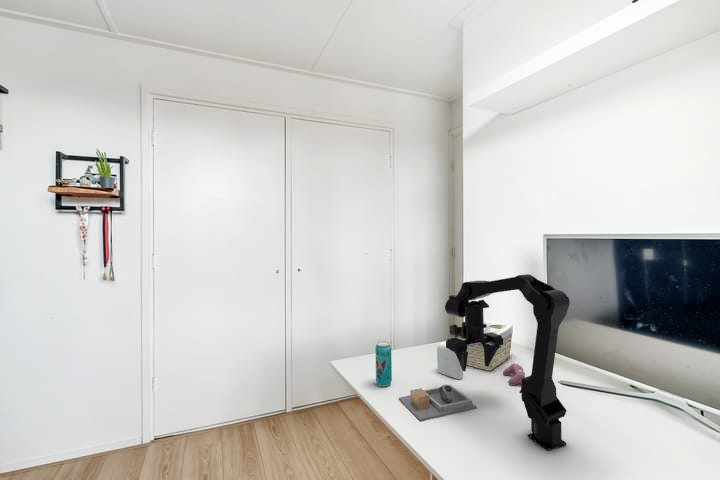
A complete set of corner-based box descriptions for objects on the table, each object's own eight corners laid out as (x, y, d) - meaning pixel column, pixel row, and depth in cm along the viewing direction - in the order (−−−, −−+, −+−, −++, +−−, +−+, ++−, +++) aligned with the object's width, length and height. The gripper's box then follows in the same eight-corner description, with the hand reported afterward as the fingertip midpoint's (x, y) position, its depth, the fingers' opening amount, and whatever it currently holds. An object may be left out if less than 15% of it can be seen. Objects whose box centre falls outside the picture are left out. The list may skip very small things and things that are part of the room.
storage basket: (479, 349, 157) (478, 317, 157) (515, 357, 146) (514, 323, 146) (454, 363, 140) (453, 328, 140) (492, 374, 129) (492, 336, 129)
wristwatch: (446, 405, 105) (446, 389, 105) (436, 396, 111) (436, 381, 111) (456, 403, 106) (456, 388, 106) (446, 394, 112) (446, 380, 112)
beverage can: (373, 385, 120) (372, 344, 120) (380, 379, 126) (379, 340, 125) (388, 389, 118) (387, 346, 118) (394, 382, 123) (393, 342, 123)
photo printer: (435, 372, 132) (435, 341, 131) (442, 369, 134) (442, 338, 134) (458, 380, 124) (457, 347, 123) (464, 377, 126) (464, 345, 126)
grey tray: (476, 408, 104) (476, 393, 104) (420, 421, 97) (420, 405, 97) (449, 388, 117) (449, 375, 117) (398, 399, 110) (398, 385, 110)
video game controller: (520, 391, 118) (529, 374, 118) (507, 384, 119) (517, 367, 118) (512, 379, 128) (521, 363, 127) (501, 373, 129) (509, 357, 128)
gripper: (479, 312, 118) (480, 356, 118) (435, 318, 111) (436, 364, 111) (503, 318, 108) (505, 367, 108) (456, 325, 101) (457, 377, 101)
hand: (475, 368), depth 107 cm, fingers open, 9 cm apart
